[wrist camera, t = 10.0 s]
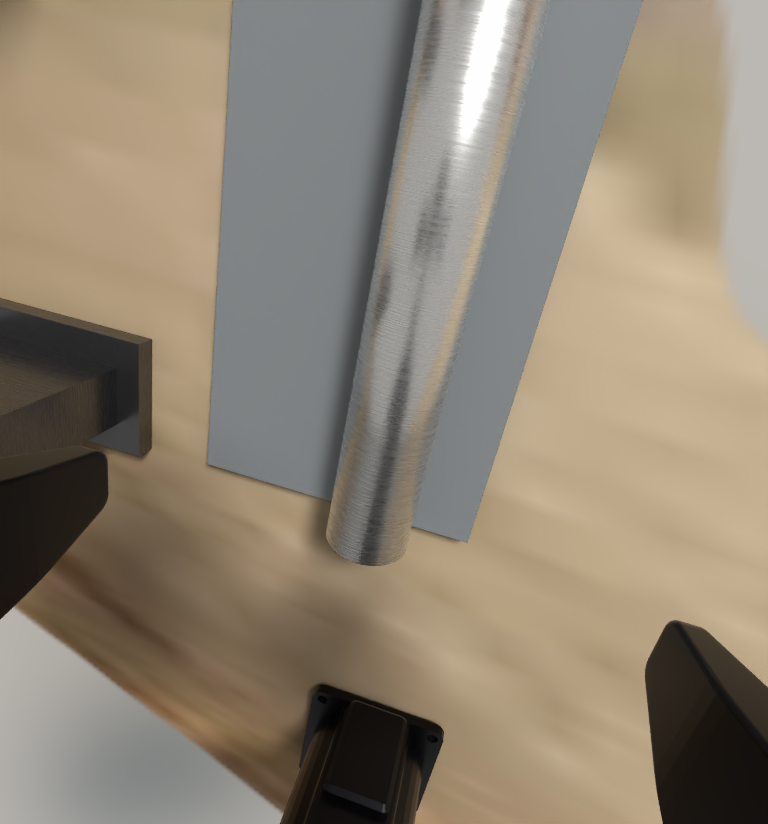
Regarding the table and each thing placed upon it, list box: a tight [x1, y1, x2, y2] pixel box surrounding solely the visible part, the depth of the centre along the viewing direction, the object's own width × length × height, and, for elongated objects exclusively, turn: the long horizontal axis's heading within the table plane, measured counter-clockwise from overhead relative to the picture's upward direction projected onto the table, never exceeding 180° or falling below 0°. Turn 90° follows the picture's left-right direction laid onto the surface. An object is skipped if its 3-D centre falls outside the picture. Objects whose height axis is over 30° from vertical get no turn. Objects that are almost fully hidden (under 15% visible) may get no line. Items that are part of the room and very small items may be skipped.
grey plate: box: [207, 0, 643, 543], centre depth 16 cm, size 24×11×1 cm, turn 169°
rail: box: [326, 0, 551, 566], centre depth 14 cm, size 24×3×3 cm
